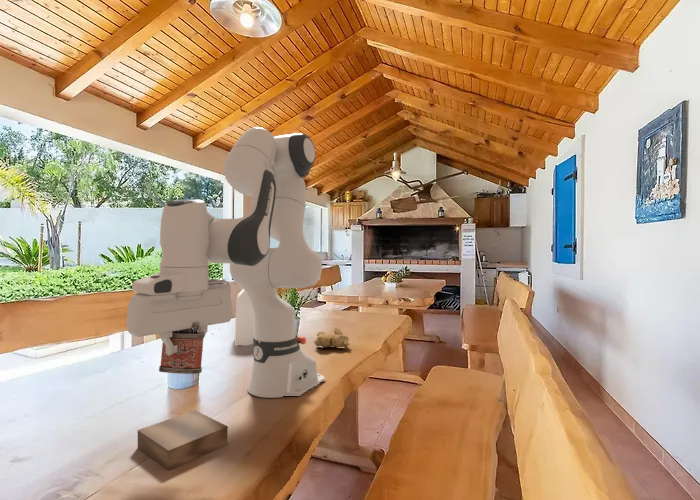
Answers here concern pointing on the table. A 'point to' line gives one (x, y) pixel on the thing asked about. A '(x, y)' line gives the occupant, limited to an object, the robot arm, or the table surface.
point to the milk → (244, 320)
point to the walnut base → (182, 438)
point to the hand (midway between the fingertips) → (184, 351)
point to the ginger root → (332, 339)
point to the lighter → (184, 352)
